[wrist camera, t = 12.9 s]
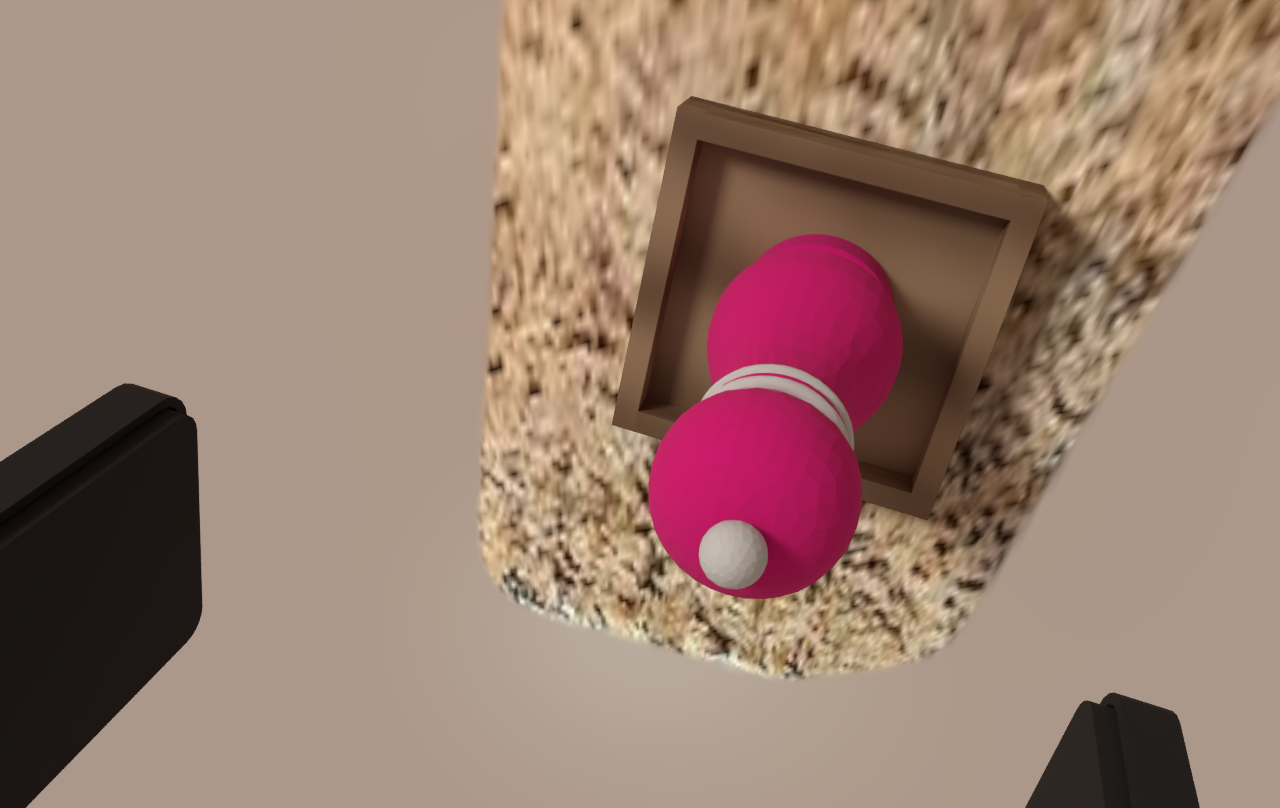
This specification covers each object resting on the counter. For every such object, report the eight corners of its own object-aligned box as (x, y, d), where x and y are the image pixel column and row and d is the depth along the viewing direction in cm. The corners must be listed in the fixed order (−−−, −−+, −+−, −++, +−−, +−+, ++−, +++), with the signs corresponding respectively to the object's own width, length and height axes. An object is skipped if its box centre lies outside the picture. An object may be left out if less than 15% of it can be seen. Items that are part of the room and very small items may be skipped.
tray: (691, 96, 44) (677, 106, 41) (1043, 185, 42) (1048, 201, 39) (627, 401, 50) (611, 424, 48) (928, 491, 48) (927, 520, 46)
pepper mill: (931, 249, 43) (915, 498, 25) (876, 408, 46) (826, 726, 29) (754, 199, 44) (618, 405, 26) (711, 359, 47) (566, 637, 30)
